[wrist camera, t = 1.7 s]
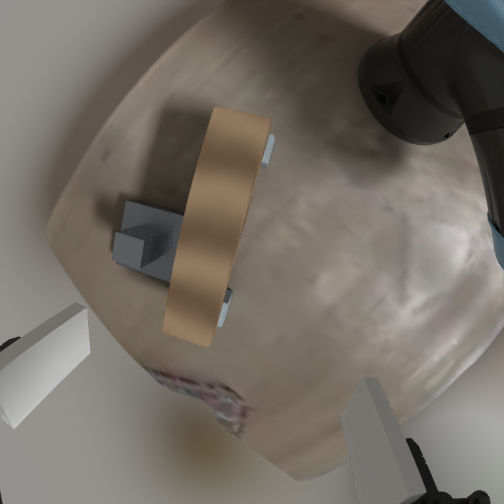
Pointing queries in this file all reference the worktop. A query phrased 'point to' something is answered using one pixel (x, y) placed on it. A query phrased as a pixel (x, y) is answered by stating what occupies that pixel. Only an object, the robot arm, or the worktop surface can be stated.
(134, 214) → the fulcrum
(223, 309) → the posts
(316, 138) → the worktop surface
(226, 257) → the plank
